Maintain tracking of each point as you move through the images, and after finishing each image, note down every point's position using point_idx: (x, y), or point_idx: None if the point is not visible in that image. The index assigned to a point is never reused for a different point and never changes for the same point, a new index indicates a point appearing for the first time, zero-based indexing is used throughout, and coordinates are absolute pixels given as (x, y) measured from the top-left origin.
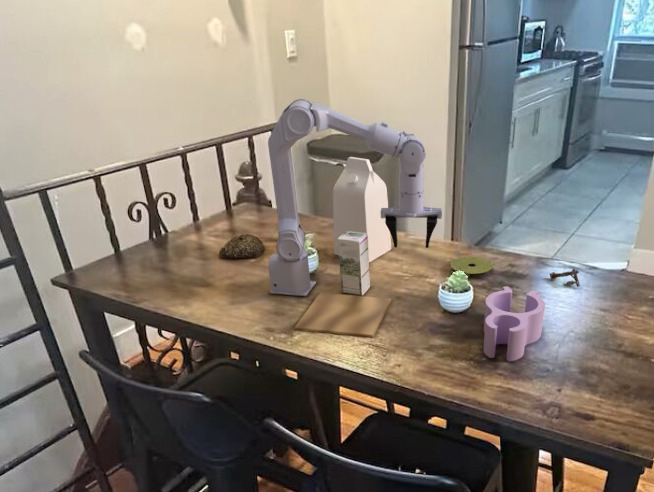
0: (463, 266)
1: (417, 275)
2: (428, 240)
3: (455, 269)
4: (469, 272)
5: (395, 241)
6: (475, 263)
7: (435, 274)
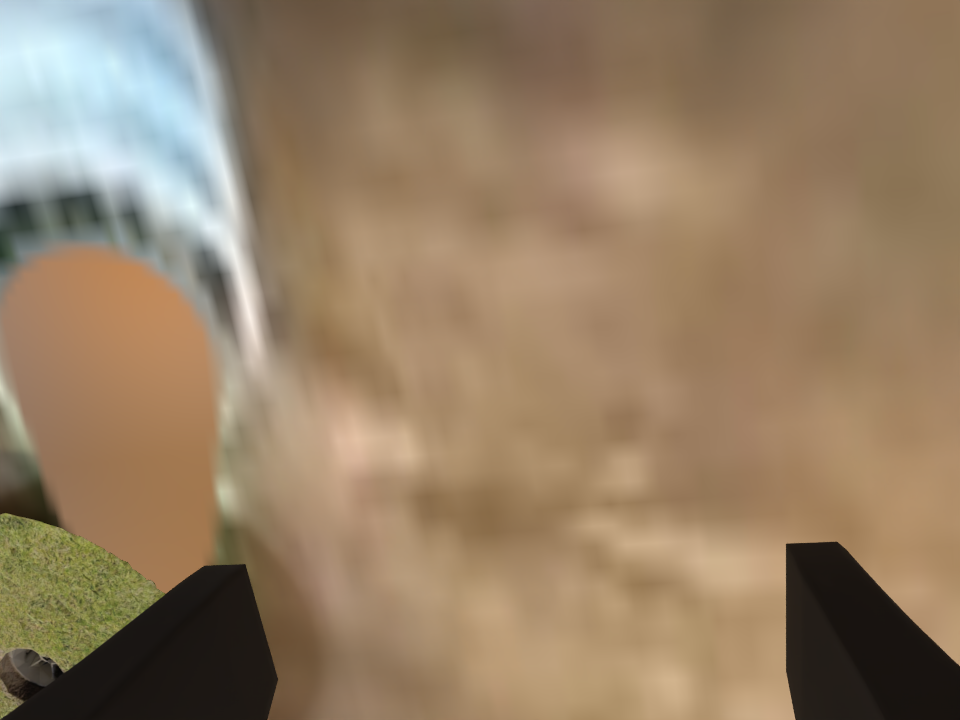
0: (91, 647)
1: (523, 533)
2: (118, 645)
3: (144, 587)
4: (2, 537)
5: (847, 608)
6: (12, 707)
7: (356, 563)
